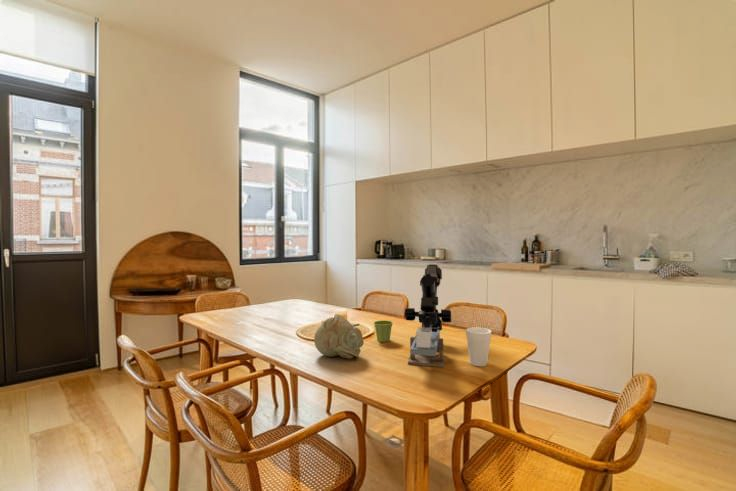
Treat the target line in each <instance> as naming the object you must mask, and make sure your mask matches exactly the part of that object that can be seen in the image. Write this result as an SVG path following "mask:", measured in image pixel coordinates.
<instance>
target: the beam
mask: <svg viewBox="0 0 736 491" xmlns="http://www.w3.org/2000/svg"><path fill="white" fill-rule="evenodd" d="M440 334H441V330H437V332H432V347H431V349H418V348H416V335H415V336H414V337H415V338H414V341H413V343H412V346H411V348H410V349H409V350H410V354H411V355H415V356H429V357H437V353H438V354H439V338H441V335H440ZM410 354H409V355H410Z"/></svg>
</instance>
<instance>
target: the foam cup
mask: <svg viewBox="0 0 736 491" xmlns="http://www.w3.org/2000/svg"><path fill="white" fill-rule="evenodd" d="M465 335H466V342H467V350H468V356H469V358H468V359H469V363H470V365H472V366H476V367H485V366H487V364H488V360H489V353H490V344H491V339H492V330H491V329H489V328H485V327H478V326H477V327H475V326H473V327H467V328H466V329H465Z"/></svg>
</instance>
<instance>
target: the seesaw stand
mask: <svg viewBox="0 0 736 491" xmlns="http://www.w3.org/2000/svg"><path fill="white" fill-rule="evenodd" d="M414 338H415V336H410V339H409V340H410V342H409V344H410V346H409V347H410V348H411V346H412V343H413V341H414ZM407 365H409V366H410V365H411V366H425V367H427V366H428V367H438V368H439V367H440V368H445V365H446V357H444V338H441V337H440V338H439V353H438V356H426V355H411V354H409V358H408V360H407Z"/></svg>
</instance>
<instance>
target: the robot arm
mask: <svg viewBox="0 0 736 491" xmlns="http://www.w3.org/2000/svg"><path fill="white" fill-rule="evenodd" d="M442 271H443V270H442V268H440V267H439V265H438V264H427V266H426V268H425V269H424V274H423V275H422V277H421V278H420V280H419V286H420V287H421V293H422V294H421V295H422V297H421V298H420V310H418V311H416V310H415V308H413V307H406V308H404V318H405V321H410V322H413V321H415V320H416V318H417V317H418V322H419V323H421V327H424V328H432V332H437V330H440V331H442V330H443V323H451V322H452V310H451V309H445V308H444V309H443V308H442V309H441V310H440V312H439V310H438V309H437V306H439V297H438V295H437V294H438V288H439V287H440V285H441V280H443V272H442Z"/></svg>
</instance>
